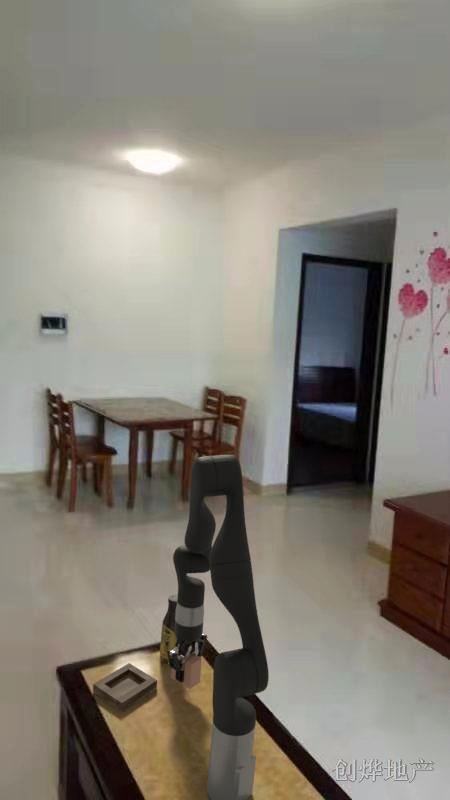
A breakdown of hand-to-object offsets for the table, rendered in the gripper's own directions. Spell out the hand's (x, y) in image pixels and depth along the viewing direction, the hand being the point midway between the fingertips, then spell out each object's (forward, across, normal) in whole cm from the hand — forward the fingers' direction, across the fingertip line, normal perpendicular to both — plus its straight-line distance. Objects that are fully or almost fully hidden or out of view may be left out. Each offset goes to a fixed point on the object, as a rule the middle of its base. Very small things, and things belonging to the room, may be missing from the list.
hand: (185, 676), depth 164 cm
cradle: (+5, -10, +12) cm, 17 cm away
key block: (+1, 0, 0) cm, 1 cm away
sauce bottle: (+5, +9, +14) cm, 17 cm away
